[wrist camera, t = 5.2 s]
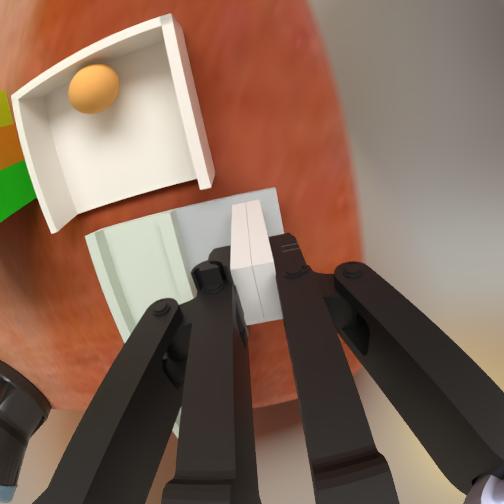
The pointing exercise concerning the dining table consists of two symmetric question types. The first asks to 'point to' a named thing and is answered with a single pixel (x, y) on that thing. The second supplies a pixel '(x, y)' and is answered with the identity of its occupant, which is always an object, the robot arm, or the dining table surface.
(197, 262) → the lever
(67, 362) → the dining table surface
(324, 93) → the dining table surface
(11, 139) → the puzzle toy
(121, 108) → the tray
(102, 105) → the ball
